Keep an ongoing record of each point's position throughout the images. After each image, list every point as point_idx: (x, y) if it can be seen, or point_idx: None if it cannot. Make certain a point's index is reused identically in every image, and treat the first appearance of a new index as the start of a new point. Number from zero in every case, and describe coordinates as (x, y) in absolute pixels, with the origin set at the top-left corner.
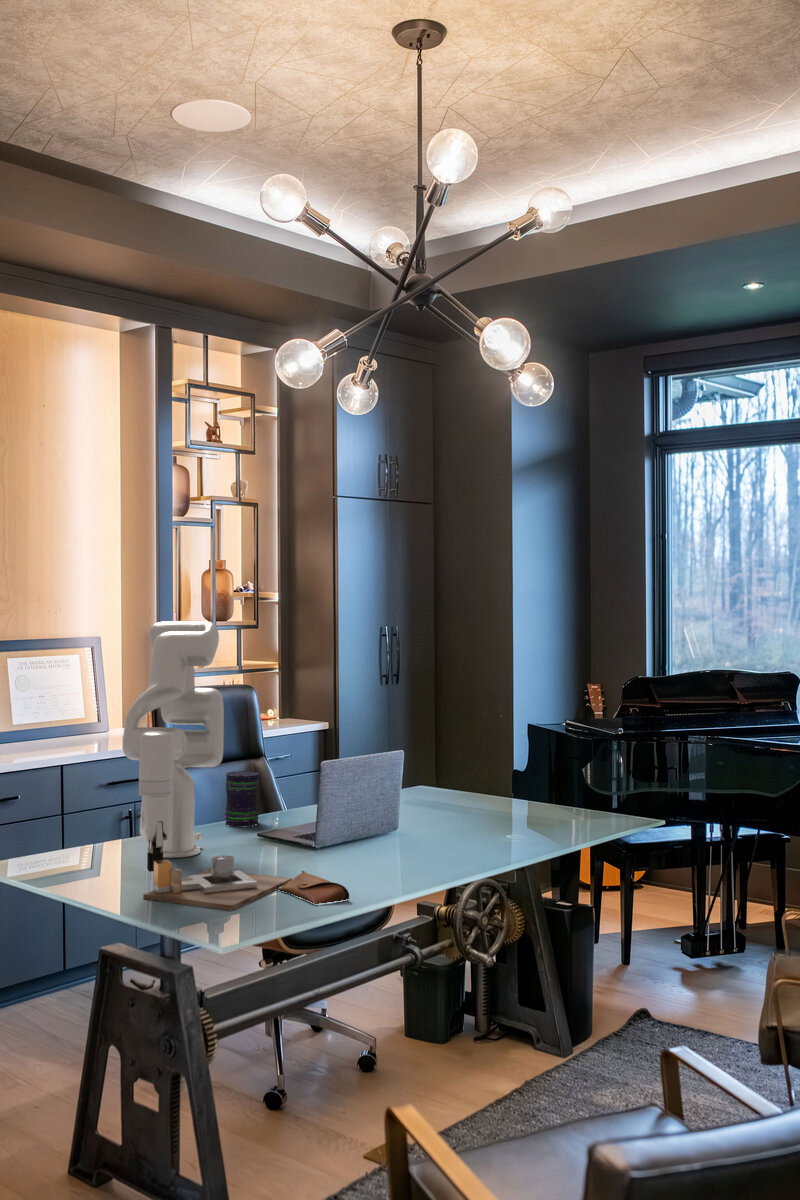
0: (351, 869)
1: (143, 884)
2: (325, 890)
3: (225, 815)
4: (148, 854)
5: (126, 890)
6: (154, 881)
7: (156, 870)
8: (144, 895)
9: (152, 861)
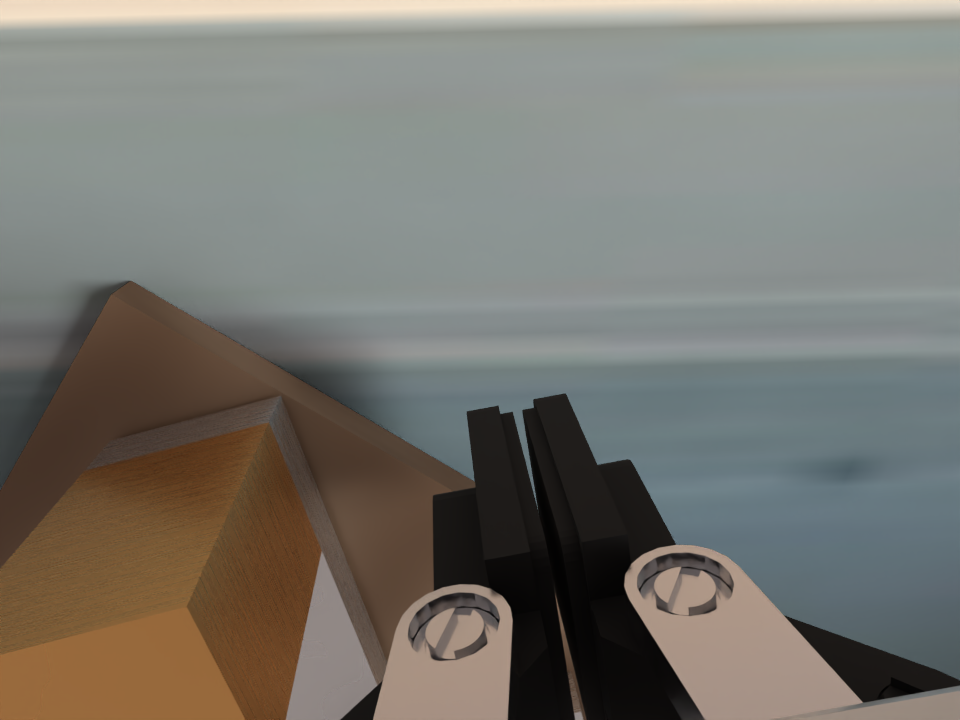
0: None
1: (758, 266)
2: None
3: None
4: (495, 544)
5: (542, 87)
6: (221, 450)
7: (68, 568)
8: (109, 303)
9: (448, 534)
